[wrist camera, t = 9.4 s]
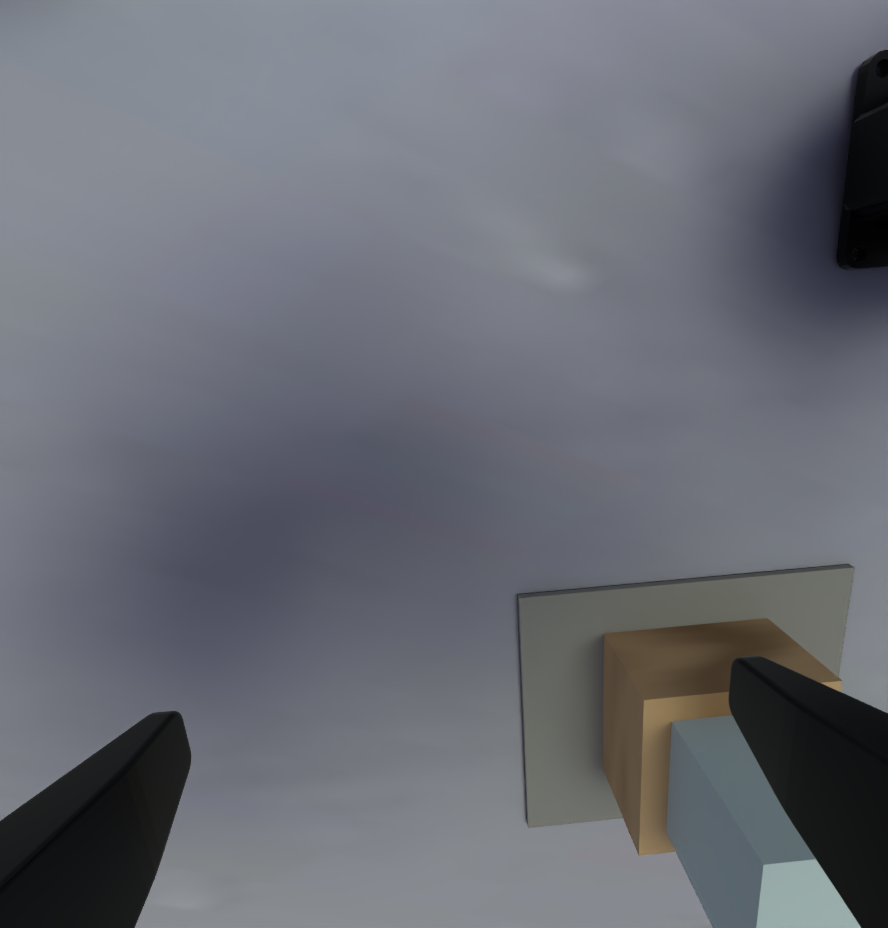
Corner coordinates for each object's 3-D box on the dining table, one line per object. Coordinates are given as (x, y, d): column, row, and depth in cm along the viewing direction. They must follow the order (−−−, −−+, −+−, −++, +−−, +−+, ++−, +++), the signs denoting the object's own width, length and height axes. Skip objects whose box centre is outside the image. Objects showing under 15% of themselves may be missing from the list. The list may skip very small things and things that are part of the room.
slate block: (811, 707, 18) (952, 844, 13) (796, 818, 20) (920, 979, 15) (671, 721, 18) (763, 864, 13) (666, 832, 19) (747, 998, 15)
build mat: (848, 564, 22) (854, 567, 21) (816, 792, 25) (820, 797, 25) (517, 594, 21) (519, 598, 21) (527, 821, 25) (528, 827, 24)
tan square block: (767, 617, 22) (841, 680, 18) (753, 753, 24) (818, 836, 20) (603, 633, 22) (643, 700, 18) (602, 768, 24) (638, 855, 20)
